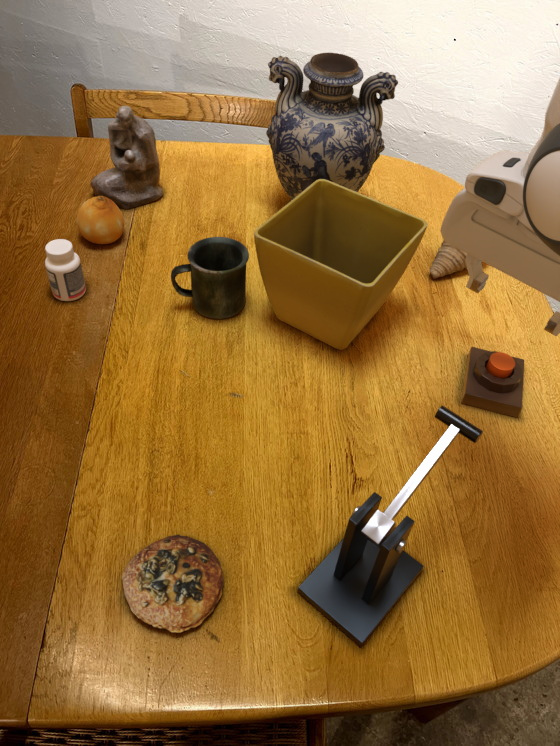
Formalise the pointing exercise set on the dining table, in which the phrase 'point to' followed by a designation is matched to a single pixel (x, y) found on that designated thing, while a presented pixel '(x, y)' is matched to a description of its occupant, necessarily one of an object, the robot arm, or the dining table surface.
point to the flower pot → (334, 259)
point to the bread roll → (173, 583)
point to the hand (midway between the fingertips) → (512, 308)
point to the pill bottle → (64, 270)
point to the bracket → (362, 576)
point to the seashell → (447, 261)
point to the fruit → (100, 220)
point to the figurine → (130, 163)
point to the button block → (492, 385)
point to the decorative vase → (326, 122)
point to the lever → (419, 475)
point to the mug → (215, 276)
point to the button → (500, 365)
